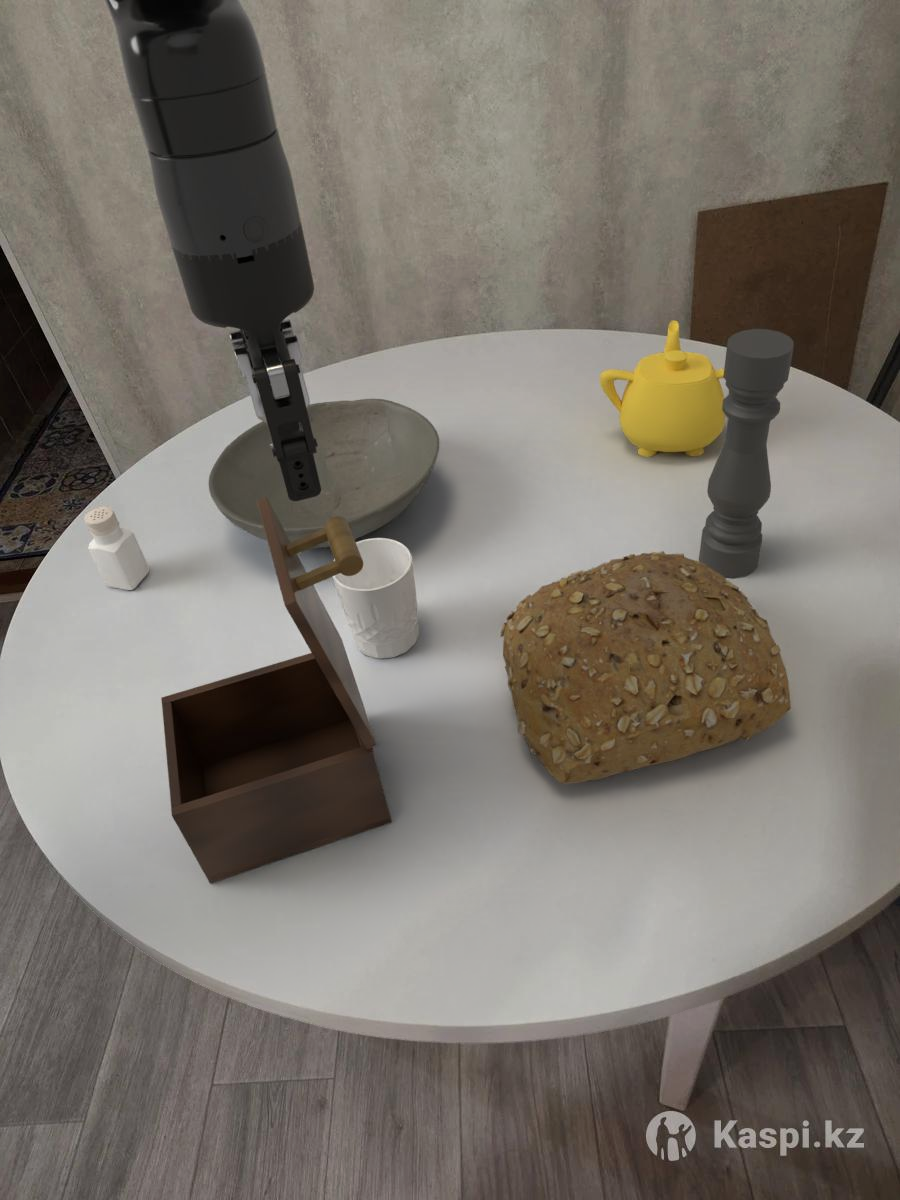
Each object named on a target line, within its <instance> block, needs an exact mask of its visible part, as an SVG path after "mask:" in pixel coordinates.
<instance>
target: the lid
mask: <svg viewBox="0 0 900 1200" xmlns="http://www.w3.org/2000/svg"><path fill="white" fill-rule="evenodd" d="M257 503H258V507H259V511H260V515H261V518H262V522H263V526H264V530H265V533H266V537H267V540H266V541H267V544H268V548H269V551H270V556H271V559H272V563H273V566H274V571H275V574H276V578H277V582H278V585H279V590H280V593H281V596H282V597H281V598H282V601H283V604H284V607H285V609H286V611H287V612H288V614H289V615H290V617H291V619H292V620H293V622H294V624H295V627H296V628H297V630H298V631H299V633H300V635H301V636H302V638H303V640H304V642H305V644H306V645H307V646H308V649H309V650H310V653H312V654H313V656H314V657H315V659H316V661H317V663H318V664H319V666H320V668H321V670H322V671H323V673H324V675H325V676H326V678H327V680H328V682H329V683H330V685H331V687H332V689H333V690H334V692H335V694H336V696H337V697H338V699H339V701H340V703H341V704H342V706H343V708H344V710H345V711H346V713H347V715H348V717H349V718H350V720H351V722H352V723H353V725H354V727H355V729H356V730H357V732H358V734H359V736H360V737H361V739H362V741H363V743H364V744H365V746H366V748H367V749H369V748H372V749H373V747H376V746H377V741H376V739H375V736H374V733H373V730H372V727H371V722H370V720H369V717H368V713H367V711H366V708H365V705H364V702H363V699H362V695H361V693H360V690H359V688H358V683H357V681H356V678H355V675H354V671H353V669H352V666H351V663H350V659H349V657H348V654H347V651H346V647H345V644H344V641H343V638H342V637H341V635H340V632H339V631H338V629H337V627H336V626H335V623H334V622H333V620H332V618H331V615H330V614H329V612H328V610H327V609H326V607H325V604H324V602H323V600H322V598H321V596H320V595H319V593H318V591H317V589H316V588H315V586H314V585H315V584H318V583H321V582H323V581H326V580H328V579H330V578H333V576H335V575H337V574H339V573H341V574H343V575H345V576H353V575H356V574H357V573H359V572H360V571H361V570H362V568H363V560H362V557H361V555H360V552H359V550H358V547H357V545H356V542H357V541H356V539H355V540H354V537H353V535H352V532H351V530H350V527H349V524H348V522H347V520H346V519H345V518H343V517H341V516H334V517H331V518H329V519H328V520H327V521H326V522H325V524H324V528H323V529H321V530H319V531H316V532H314V533H312V534H309V535H307V536H305V537H302V538H300V539H297V540H295V541H293V542H290V540H289V538H288V536H287V534H286V532H285V531H284V529H283V527H282V525H281V523H280V521H279V519H278V517H277V515H276V514H275V512H274V510H273V508H272V506H271V504H270V502H269V500H268V498H267V497H264V498H262V499H260V500H257ZM326 541H328V542H329V545H330V547H329V549H330V551H331V553H332V556H333V558H334V559H335V561H334V559H333V561H330V562H328V563H326V564H324V565H321V566H319V567H316V568H314V569H312V570H309V571H306V568H305V567H304V565H303V563H302V561H301V559H300V557H299V555H298V554H300V553H302V552H305V551H308V550H309V549H313V548H312V547H314V546H317V545H319V544H321V543H324V542H326Z"/></svg>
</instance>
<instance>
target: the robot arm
mask: <svg viewBox="0 0 900 1200" xmlns="http://www.w3.org/2000/svg"><path fill="white" fill-rule="evenodd" d="M105 3H106V5H107V8H108V11H109V14H110V16H111V19H112V22H113V25H114V28H115V33H116V36H117V42H118V47H119V52H120V57H121V60H122V66H123V70H124V74H125V79H126V82H127V86H128V91H129V93H130V97H131V101H132V103H133V107H134V111H135V113H136V117H137V120H138V123H139V126H140V127H139V128H140V131H141V133H142V136H143V141H144V144H145V147H146V149H147V154H148V157H149V161H150V167H151V172H152V178H153V185H154V190H155V196H156V198H157V203H158V206H159V210H160V212H161V216H162V220H163V222H164V225H165V230H166V232H167V235H168V236H167V237H168V239H169V242H170V245H171V248H172V252H173V256H174V259H175V261H176V265H177V268H178V271H179V275H180V278H181V281H182V285H183V287H184V291H185V294H186V298H187V301H188V304H189V307H190V310H191V312H192V314H193V316H194V317H195V318H196V319H197V320H198V321H200V322H202V323H204V324H205V325H209V326H212V327H216V328H221V329H226V328H234V329H237V330H232V331H229V337H230V340H231V341H230V342H231V345H232V348H233V352H234V356H235V358H236V363H237V366H238V370H239V373H240V375H241V376H242V377H243V378H244V379H245V380H246V383H247V387H248V390H249V395H250V398H251V401H252V405H253V409H254V412H255V415H256V418H257V419H258V420H259V421H261V422H262V421H265V422H266V423H267V426H268V429H269V433H270V437H271V440H272V443H270V446H271V449H272V452H273V456H274V457H275V456H276V457H277V461H278V462H279V464H280V468H281V472H282V475H283V479H284V483H285V486H286V490H287V494H288V497H289V499H290V500H292V501H300V500H304V499H308V498H312V497H316V496H318V495H319V494H320V493H321V486H320V481H319V477H318V473H317V469H316V464H315V460H314V456H313V453H317V451H316V447H317V446H318V445H317V441H316V438H315V439H314V437H313V433H312V429H311V425H310V421H309V416H308V412H307V410H308V408H309V405H310V404H311V400H310V396H309V391H308V388H307V385H306V381H305V378H304V373H303V369H302V366H301V365H302V361H303V354H302V350H301V347H300V343H299V339H298V336H297V334H295V333H294V329H293V325H292V322H291V319H290V318H288V319H286V318H287V317H290V316H291V315H292V314H296V313H298V312H300V310H302V309H303V308H304V307H306V306H307V305H308V304H309V302H311V300H312V298H313V296H314V292H315V284H314V278H313V274H312V268H311V264H310V259H309V254H308V249H307V244H306V239H305V234H304V230H303V225H302V220H301V219H302V218H301V216H300V211H299V210H300V209H299V205H298V200H297V195H296V190H295V186H294V180H293V176H292V172H291V168H290V165H289V161H288V159H287V156H286V152H285V149H284V147H283V143H282V140H281V137H280V132H279V130H278V125H277V120H276V115H275V110H274V106H273V100H272V96H271V91H270V86H269V81H268V76H267V72H266V67H265V63H264V59H263V54H262V49H261V46H260V43H259V40H258V36H257V34H256V31H255V27H254V26H253V24H252V21H251V19H250V17H249V15H248V14H247V12H246V10H245V9H244V7H243V5H242V3H241V2H240V0H105ZM299 424H300V426H299ZM300 428H301V430H300Z"/></svg>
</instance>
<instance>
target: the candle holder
mask: <svg viewBox="0 0 900 1200" xmlns="http://www.w3.org/2000/svg"><path fill="white" fill-rule="evenodd" d="M794 343H795V341H794V340H793V339H792V338H791V337H790V336H789V335H788V334H785V333H783V332H781V331H778V330H773V329H768V328H767V329H766V328H751V329H744V330H741V331H739V332H736V333H733V334H732V335H731V336H730V337H729V338H728V339H727V343H726V351H725V360H724V375H723V377H724V378H723V379H724V380H725V386H726V388H727V390H728V394H729V395H728V394H727V395H726V397H724V400H723V405H722V410H723V412H724V414H725V417H727V425H726V431H725V439H724V442H723V444H722V447H721V449H720V451H719V455H718V456H717V459H716V462H715V464H714V466H713V469H712V471H711V474H710V475H709V478H708V481H707V482H708V483H707V490H706V493H707V496H708V499H709V500H710V502H711V504H712V506H713V509H712V511H711V512H710V513H709V515H708V516H706V518H705V524H704V527H703V528H702V531H701V538H700V546H699V555H698V561H699V562H701V563H703V564H705V565H707V566H708V567H709V568H711V569H713V570H714V571H716V572H717V573H719V574H721V575H723V576H724V578H725V579H736V578H738V579H739V578H743V577H746V576H748V575H750V574H753V573H754V571H755V570H757V568H758V566H759V561H760V555H761V549H762V544H763V533H762V530H763V529H762V528H763V523H762V521H761V519H760V517H759V516H758V514H759V511H760V510H761V509H762V508H763V507H764V505H766V504H767V502H768V501H769V499H770V497H771V492H772V491H771V489H772V482H771V473H770V465H769V463H770V462H769V455H768V454H769V453H768V444H767V443H768V437H769V431H770V424H771V421H772V420H775V418H776V417H777V416H778V415H779V414H780V411H781V401H780V400H779V399H778V398H777V396H778V394H779V393H780V392H781V391H782V390H783V388H784V386H785V384H786V383H787V382H788V381H789V376H790V370H791V364H792V359H793V354H794V345H795V344H794Z"/></svg>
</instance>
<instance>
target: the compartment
mask: <svg viewBox="0 0 900 1200" xmlns="http://www.w3.org/2000/svg"><path fill="white" fill-rule="evenodd" d="M160 699H161V700H160V701H161V709H162V719H163V733H164V742H165V754H166V763H167V765H166V767H167V776H168V778H167V779H168V787H169V788H168V789H169V799H170V807H171V808H170V811H171V817H172V820H174V822H175V824H176V826H177V828H178V829H179V831H180V834H181V835H182V837H183V839H184V840H185V842H186V843H187V846H188V847H189V849H190V851H191V852H192V854H193V856H194V858H195V860H196V861H197V863H198V865H199V867H200V869H201V870H202V872H203V874H204V875H205V877H206V880H207V881H208V883H209V884H212V883H215V882H218V881H219V882H220V881H221V880H224V879H227V878H228V879H229V878H231V877H233V876H237V875H240V874H242V873H243V874H244V873H246V872H248V871H251V870H254V869H257V868H260V867H263V866H266V865H269V864H272V863H275V862H278V861H281V860H284V859H287V858H290V857H293V856H296V855H299V854H302V853H305V852H308V851H311V850H314V849H317V848H320V847H322V846H325V845H328V844H332V843H335V842H337V841H341V840H345V839H347V838H350V837H353V836H356V835H359V834H361V833H365V832H367V831H371V830H373V829H376V828H380V827H382V826H385V825H388V824H391V823H392V822H393V821H392V817H391V813H390V809H389V807H388V806H389V805H388V802H387V798H386V795H385V791H384V787H383V783H382V779H381V776H380V775H381V774H380V772H379V768H378V764H377V761H376V757H375V753H374V750H373V747H372V748H369V749H367V748H366V746H365V744H364V743H363V741H362V739H361V737H360V736H359V734H358V732H357V730H356V729H355V727H354V725H353V723H352V722H351V720H350V718H349V717H348V715H347V713H346V711H345V710H344V708H343V706H342V704H341V703H340V701H339V699H338V697H337V696H336V694H335V692H334V690H333V689H332V687H331V685H330V683H329V682H328V680H327V678H326V676H325V675H324V673H323V671H322V670H321V668H320V666H319V664H318V663H317V661H316V659H315V657H314V656H313V654H312V652H310V653H306V654H302V655H298V656H297V657H293V658H290V659H287V660H283V661H281V662H280V661H279V662H275V663H272V664H269V665H266V666H262V667H259V668H256V669H253V670H252V669H251V670H249V671H246V672H243V673H239V674H236V675H232V676H229V677H226V678H222V679H218V680H215V681H213V682H209V683H206V684H202V685H198V686H196V687H192V688H189V689H185V690H182V691H179V692H175V693H172V694H169V695H166V696H165V695H164V696H162V697H161V698H160Z"/></svg>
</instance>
